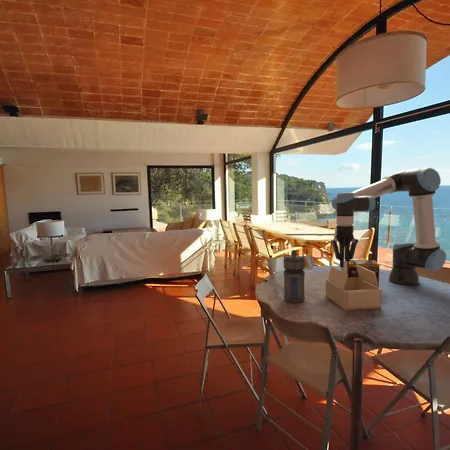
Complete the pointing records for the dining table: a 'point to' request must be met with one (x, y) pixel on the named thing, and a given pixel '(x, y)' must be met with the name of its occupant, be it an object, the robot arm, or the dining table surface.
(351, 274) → the supplement box
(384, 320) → the dining table surface
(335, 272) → the flap
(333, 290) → the carton
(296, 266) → the beverage bottle
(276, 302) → the dining table surface
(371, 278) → the flap
